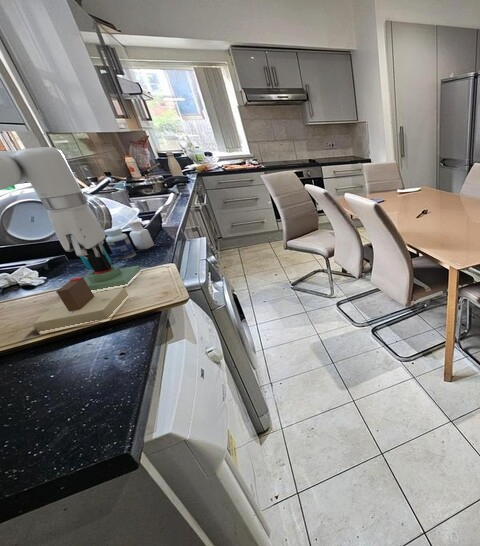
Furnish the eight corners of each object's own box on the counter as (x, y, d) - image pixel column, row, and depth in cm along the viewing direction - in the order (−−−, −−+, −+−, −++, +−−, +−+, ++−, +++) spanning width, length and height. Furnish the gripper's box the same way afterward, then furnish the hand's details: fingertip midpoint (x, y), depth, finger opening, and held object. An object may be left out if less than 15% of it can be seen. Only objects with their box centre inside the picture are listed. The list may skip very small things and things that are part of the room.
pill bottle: (113, 262, 101) (97, 233, 97) (119, 256, 105) (105, 228, 101) (133, 258, 103) (119, 230, 98) (138, 253, 107) (125, 225, 103)
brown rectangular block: (80, 309, 69) (67, 288, 66) (68, 311, 68) (55, 290, 66) (94, 296, 74) (82, 276, 71) (84, 298, 73) (71, 278, 71)
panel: (40, 335, 66) (31, 322, 64) (70, 309, 75) (62, 297, 74) (109, 321, 69) (102, 309, 68) (130, 297, 79) (124, 286, 77)
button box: (72, 297, 81) (63, 283, 79) (92, 280, 89) (85, 267, 87) (128, 287, 84) (121, 273, 82) (142, 272, 93) (136, 259, 91)
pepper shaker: (144, 245, 114) (133, 220, 109) (155, 245, 113) (144, 219, 109) (136, 250, 110) (123, 223, 106) (146, 249, 110) (134, 223, 106)
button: (94, 280, 84) (90, 274, 83) (100, 274, 87) (97, 268, 86) (110, 277, 85) (107, 271, 84) (116, 271, 88) (113, 266, 87)
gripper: (64, 198, 82) (100, 262, 90) (24, 212, 69) (70, 285, 78) (99, 194, 84) (131, 257, 92) (67, 207, 71) (107, 278, 80)
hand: (103, 269), depth 85 cm, fingers closed
